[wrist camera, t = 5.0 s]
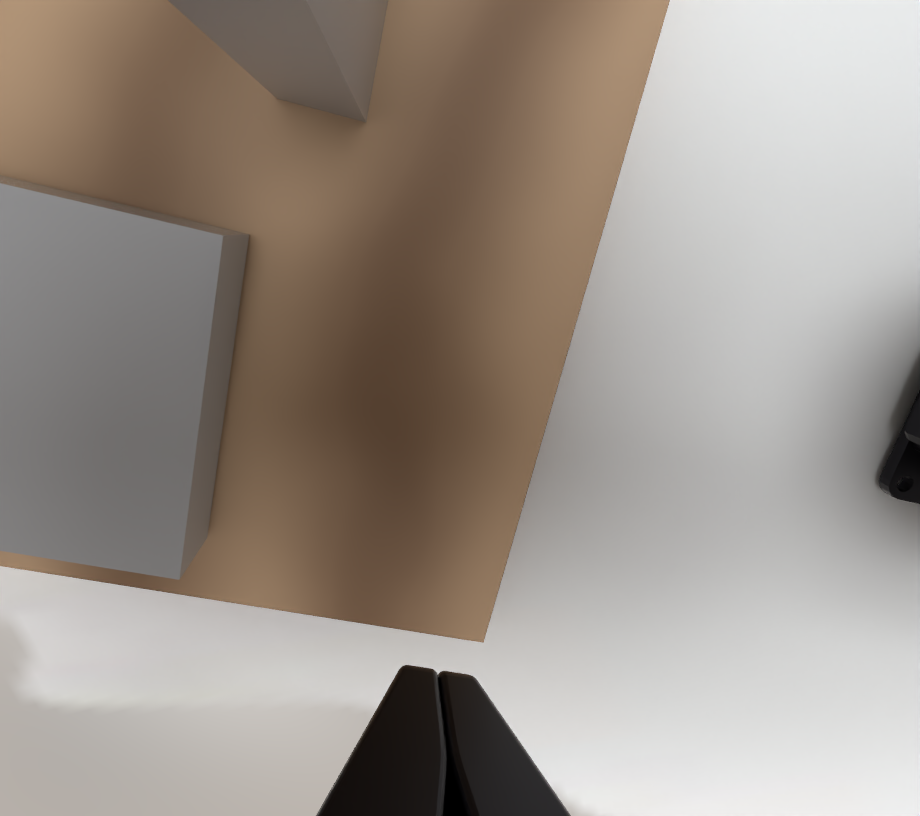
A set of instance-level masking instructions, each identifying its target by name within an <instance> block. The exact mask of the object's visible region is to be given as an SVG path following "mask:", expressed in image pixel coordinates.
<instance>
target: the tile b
mask: <svg viewBox="0 0 920 816" xmlns="http://www.w3.org/2000/svg"><path fill="white" fill-rule="evenodd" d="M168 1H169V2H170V3H171V4H172V5H174V6H175V7H176V8H177V9H178V10H179V11H180V12H181V13H182V14H184V15H185V16H186V17H187V18H188V19H189V20H190V21H191V22H192V23H194V24H195V25H196V26H197V27H198V28H199V29H200V30H201V31H202V32H204V33H205V34H206V35H207V36H208V37H209V38H210V39H211V40H212V41H214V42H215V43H216V44H217V45H218V46H219V47H220V48H221V49H222V50H224V51H225V52H226V53H227V54H228V55H229V56H230V57H231V58H232V59H233V60H235V61H236V62H237V63H238V64H239V65H240V66H241V67H242V68H243V69H245V70H246V71H247V72H248V73H249V74H250V75H251V76H252V77H253V78H255V79H256V80H257V81H258V82H259V83H260V84H261V85H262V86H263V87H265V88H266V89H267V90H268V91H269V92H270V93H271V94H272V95H273V96H275V97H276V98H277V99H280V100H283V101H287V102H291V103H295V104H298V105H302V106H306V107H310V108H313V109H317V110H321V111H325V112H328V113H332V114H336V115H340V116H343V117H347V118H351V119H355V120H358V121H362V122H367V116H368V111H369V105H370V100H371V94H372V89H373V83H374V77H375V72H376V66H377V61H378V55H379V50H380V44H381V39H382V33H383V28H384V22H385V16H386V11H387V5H388V0H168Z"/></svg>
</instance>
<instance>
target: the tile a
mask: <svg viewBox="0 0 920 816" xmlns="http://www.w3.org/2000/svg"><path fill="white" fill-rule="evenodd" d="M248 241H249V234H247V233H242V232H238V231H234V230H230V229H225V228H221V227H217V226H213V225H209V224H204V223H200V222H196V221H192V220H188V219H183V218H179V217H175V216H171V215H166V214H162V213H158V212H154V211H150V210H145V209H141V208H137V207H133V206H128V205H124V204H120V203H116V202H112V201H107V200H103V199H99V198H95V197H90V196H86V195H82V194H78V193H74V192H69V191H65V190H61V189H57V188H53V187H48V186H44V185H40V184H36V183H31V182H27V181H23V180H19V179H15V178H10V177H6V176H2V175H0V551H4V552H10V553H17V554H23V555H29V556H35V557H41V558H48V559H54V560H60V561H66V562H72V563H78V564H85V565H91V566H97V567H103V568H109V569H116V570H122V571H128V572H134V573H140V574H146V575H153V576H159V577H165V578H171V579H177V580H180V578H181V577H182V575H183V574H184V572H185V571H186V569H187V568H188V566H189V565H190V563H191V562H192V560H193V559H194V557H195V556H196V554H197V553H198V551H199V550H200V548H201V547H202V545H203V544H204V542H205V541H206V539H207V536H208V529H209V522H210V515H211V507H212V500H213V493H214V486H215V479H216V471H217V464H218V457H219V450H220V442H221V435H222V428H223V421H224V414H225V406H226V399H227V392H228V385H229V378H230V370H231V363H232V356H233V349H234V342H235V334H236V327H237V320H238V313H239V305H240V298H241V291H242V284H243V277H244V269H245V262H246V255H247V248H248Z"/></svg>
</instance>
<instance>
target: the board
mask: <svg viewBox="0 0 920 816" xmlns="http://www.w3.org/2000/svg"><path fill="white" fill-rule="evenodd" d="M669 1H670V0H388V5H387V11H386V16H385V22H384V28H383V33H382V39H381V44H380V50H379V55H378V61H377V66H376V72H375V77H374V83H373V89H372V94H371V100H370V105H369V111H368V116H367V122H362V121H358V120H355V119H351V118H347V117H343V116H340V115H336V114H332V113H328V112H325V111H321V110H317V109H313V108H310V107H306V106H302V105H298V104H295V103H291V102H287V101H283V100H280V99H277V98H276V97H275V96H273V95H272V94H271V93H270V92H269V91H268V90H267V89H266V88H265V87H263V86H262V85H261V84H260V83H259V82H258V81H257V80H256V79H255V78H253V77H252V76H251V75H250V74H249V73H248V72H247V71H246V70H245V69H243V68H242V67H241V66H240V65H239V64H238V63H237V62H236V61H235V60H233V59H232V58H231V57H230V56H229V55H228V54H227V53H226V52H225V51H224V50H222V49H221V48H220V47H219V46H218V45H217V44H216V43H215V42H214V41H212V40H211V39H210V38H209V37H208V36H207V35H206V34H205V33H204V32H202V31H201V30H200V29H199V28H198V27H197V26H196V25H195V24H194V23H192V22H191V21H190V20H189V19H188V18H187V17H186V16H185V15H184V14H182V13H181V12H180V11H179V10H178V9H177V8H176V7H175V6H174V5H172V4H171V3H170V2H169V1H168V0H0V175H2V176H6V177H10V178H15V179H19V180H23V181H27V182H31V183H36V184H40V185H44V186H48V187H53V188H57V189H61V190H65V191H69V192H74V193H78V194H82V195H86V196H90V197H95V198H99V199H103V200H107V201H112V202H116V203H120V204H124V205H128V206H133V207H137V208H141V209H145V210H150V211H154V212H158V213H162V214H166V215H171V216H175V217H179V218H183V219H188V220H192V221H196V222H200V223H204V224H209V225H213V226H217V227H221V228H225V229H230V230H234V231H238V232H242V233H247V234H249V241H248V248H247V255H246V262H245V269H244V277H243V284H242V291H241V298H240V305H239V313H238V320H237V327H236V334H235V342H234V349H233V356H232V363H231V370H230V378H229V385H228V392H227V399H226V406H225V414H224V421H223V428H222V435H221V442H220V450H219V457H218V464H217V471H216V479H215V486H214V493H213V500H212V507H211V515H210V522H209V529H208V536H207V539H206V541H205V542H204V544H203V545H202V547H201V548H200V550H199V551H198V553H197V554H196V556H195V557H194V559H193V560H192V562H191V563H190V565H189V566H188V568H187V569H186V571H185V572H184V574H183V575H182V577H181V578H180V580H177V579H171V578H165V577H159V576H153V575H146V574H140V573H134V572H128V571H122V570H116V569H109V568H103V567H97V566H91V565H85V564H78V563H72V562H66V561H60V560H54V559H48V558H41V557H35V556H29V555H23V554H17V553H10V552H4V551H0V566H4V567H11V568H17V569H23V570H30V571H36V572H42V573H48V574H55V575H61V576H67V577H74V578H80V579H86V580H93V581H99V582H105V583H111V584H118V585H124V586H130V587H137V588H143V589H149V590H156V591H162V592H168V593H174V594H181V595H187V596H193V597H200V598H206V599H212V600H219V601H225V602H231V603H237V604H244V605H250V606H256V607H263V608H269V609H275V610H282V611H288V612H294V613H300V614H307V615H313V616H319V617H326V618H332V619H338V620H345V621H351V622H357V623H363V624H370V625H376V626H382V627H389V628H395V629H401V630H408V631H414V632H420V633H426V634H433V635H439V636H445V637H452V638H458V639H464V640H471V641H477V642H484V638H485V635H486V632H487V628H488V625H489V621H490V618H491V614H492V611H493V607H494V604H495V601H496V597H497V594H498V590H499V587H500V583H501V580H502V576H503V573H504V570H505V566H506V563H507V559H508V556H509V552H510V549H511V545H512V542H513V539H514V535H515V532H516V528H517V525H518V521H519V518H520V514H521V511H522V508H523V504H524V501H525V497H526V494H527V490H528V487H529V483H530V480H531V477H532V473H533V470H534V466H535V463H536V459H537V456H538V452H539V449H540V445H541V442H542V439H543V435H544V432H545V428H546V425H547V421H548V418H549V414H550V411H551V408H552V404H553V401H554V397H555V394H556V390H557V387H558V383H559V380H560V377H561V373H562V370H563V366H564V363H565V359H566V356H567V352H568V349H569V346H570V342H571V339H572V335H573V332H574V328H575V325H576V321H577V318H578V315H579V311H580V308H581V304H582V301H583V297H584V294H585V290H586V287H587V284H588V280H589V277H590V273H591V270H592V266H593V263H594V259H595V256H596V253H597V249H598V246H599V242H600V239H601V235H602V232H603V228H604V225H605V222H606V218H607V215H608V211H609V208H610V204H611V201H612V197H613V194H614V191H615V187H616V184H617V180H618V177H619V173H620V170H621V166H622V163H623V160H624V156H625V153H626V149H627V146H628V142H629V139H630V135H631V132H632V129H633V125H634V122H635V118H636V115H637V111H638V108H639V104H640V101H641V98H642V94H643V91H644V87H645V84H646V80H647V77H648V73H649V70H650V67H651V63H652V60H653V56H654V53H655V49H656V46H657V42H658V39H659V36H660V32H661V29H662V25H663V22H664V18H665V15H666V11H667V8H668V5H669Z"/></svg>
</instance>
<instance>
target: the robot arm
mask: <svg viewBox="0 0 920 816" xmlns="http://www.w3.org/2000/svg"><path fill="white" fill-rule="evenodd" d="M901 478H903V480H902V482H901V483H900V484H899V485H897V482H898V481H899V480H900V479H901ZM879 484H880V488H881V489H882V490H883V491H884V492H885V493H887V494H889V495H891V496H892V497H894V498H897V499H900V500H905V501H909V502H914V503H919V504H920V391H919V393H918V395H917V397H916V399H915V402H914V404H913V406H912V408H911V410H910V412H909V415H908V417H907V419H906V421H905V423H904V426H903V428H902V430H901V432H900V434H899V436H898V439H897V441H896V443H895V445H894V447H893V450H892V452H891V454H890V456H889V458H888V461H887V463H886V465H885V467H884V469H883V471H882V474H881V476H880V480H879ZM316 816H571V815H570V814H569V813H568V811H567V810H566V808H565V807H564V805H563V804H562V802H561V801H560V799H559V798H558V797H557V795H556V794H555V792H554V791H553V789H552V788H551V786H550V785H549V784H548V782H547V781H546V779H545V778H544V776H543V775H542V773H541V772H540V771H539V769H538V768H537V766H536V765H535V763H534V762H533V760H532V759H531V757H530V756H529V755H528V753H527V752H526V750H525V749H524V747H523V746H522V744H521V743H520V742H519V740H518V739H517V737H516V736H515V734H514V733H513V731H512V730H511V729H510V727H509V726H508V724H507V723H506V721H505V720H504V718H503V717H502V716H501V714H500V713H499V711H498V710H497V708H496V707H495V705H494V704H493V702H492V701H491V700H490V698H489V697H488V695H487V694H486V692H485V691H484V689H483V688H482V687H481V685H480V684H479V682H478V681H477V680H476V679H475V678H474V677H473V676H471V675H467V674H461V673H454V672H448V671H442V672H440V673H439V674H438V675H437V673H436V672H435V671H434V670H433V669H429V668H423V667H416V666H410V665H405V666H402V667H401V668H400V669H399V671H398V673H397V675H396V676H395V678H394V680H393V682H392V683H391V685H390V687H389V689H388V690H387V692H386V694H385V696H384V697H383V699H382V701H381V703H380V704H379V706H378V708H377V710H376V711H375V713H374V715H373V717H372V718H371V720H370V722H369V724H368V726H367V727H366V729H365V731H364V733H363V734H362V736H361V738H360V740H359V741H358V743H357V745H356V747H355V748H354V750H353V752H352V754H351V755H350V757H349V759H348V761H347V763H346V764H345V766H344V768H343V769H342V771H341V773H340V775H339V776H338V778H337V780H336V782H335V783H334V785H333V787H332V789H331V790H330V792H329V794H328V796H327V797H326V799H325V801H324V803H323V804H322V806H321V808H320V810H319V812H318V813H317V815H316Z"/></svg>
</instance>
